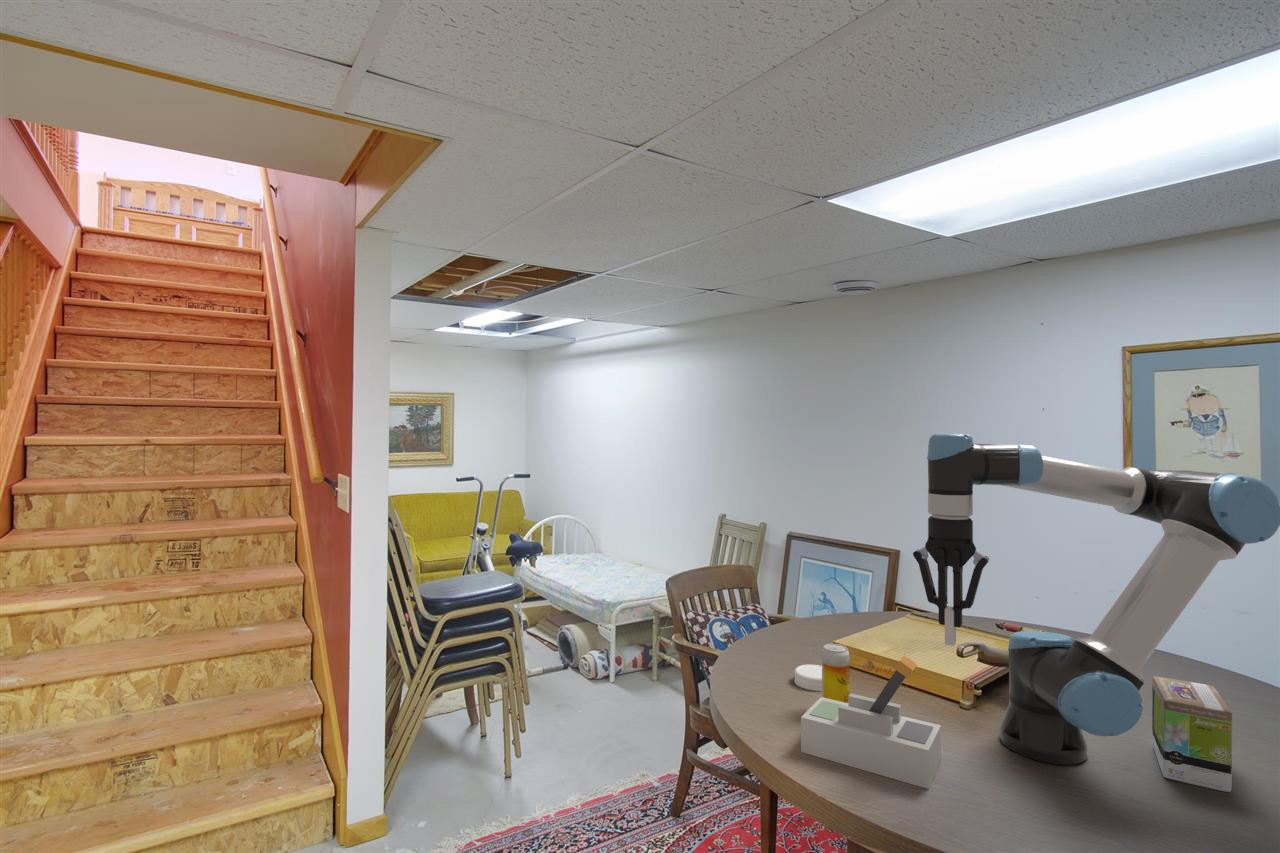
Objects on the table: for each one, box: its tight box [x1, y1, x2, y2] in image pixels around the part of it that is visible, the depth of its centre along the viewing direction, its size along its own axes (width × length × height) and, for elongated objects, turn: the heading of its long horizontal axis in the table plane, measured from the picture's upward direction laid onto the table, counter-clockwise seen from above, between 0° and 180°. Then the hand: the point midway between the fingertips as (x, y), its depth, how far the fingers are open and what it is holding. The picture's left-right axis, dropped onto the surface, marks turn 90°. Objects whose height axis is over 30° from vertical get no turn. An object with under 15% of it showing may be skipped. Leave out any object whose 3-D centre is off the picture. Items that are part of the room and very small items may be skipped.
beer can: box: [821, 643, 851, 703], centre depth 148 cm, size 6×6×15 cm
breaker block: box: [800, 693, 942, 790], centre depth 128 cm, size 24×12×10 cm, turn 55°
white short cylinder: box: [794, 664, 822, 692], centre depth 165 cm, size 10×10×4 cm
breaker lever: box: [869, 654, 918, 714], centre depth 126 cm, size 3×4×14 cm
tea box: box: [1151, 675, 1233, 793], centre depth 124 cm, size 15×10×15 cm
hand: (950, 643), depth 120 cm, fingers closed
